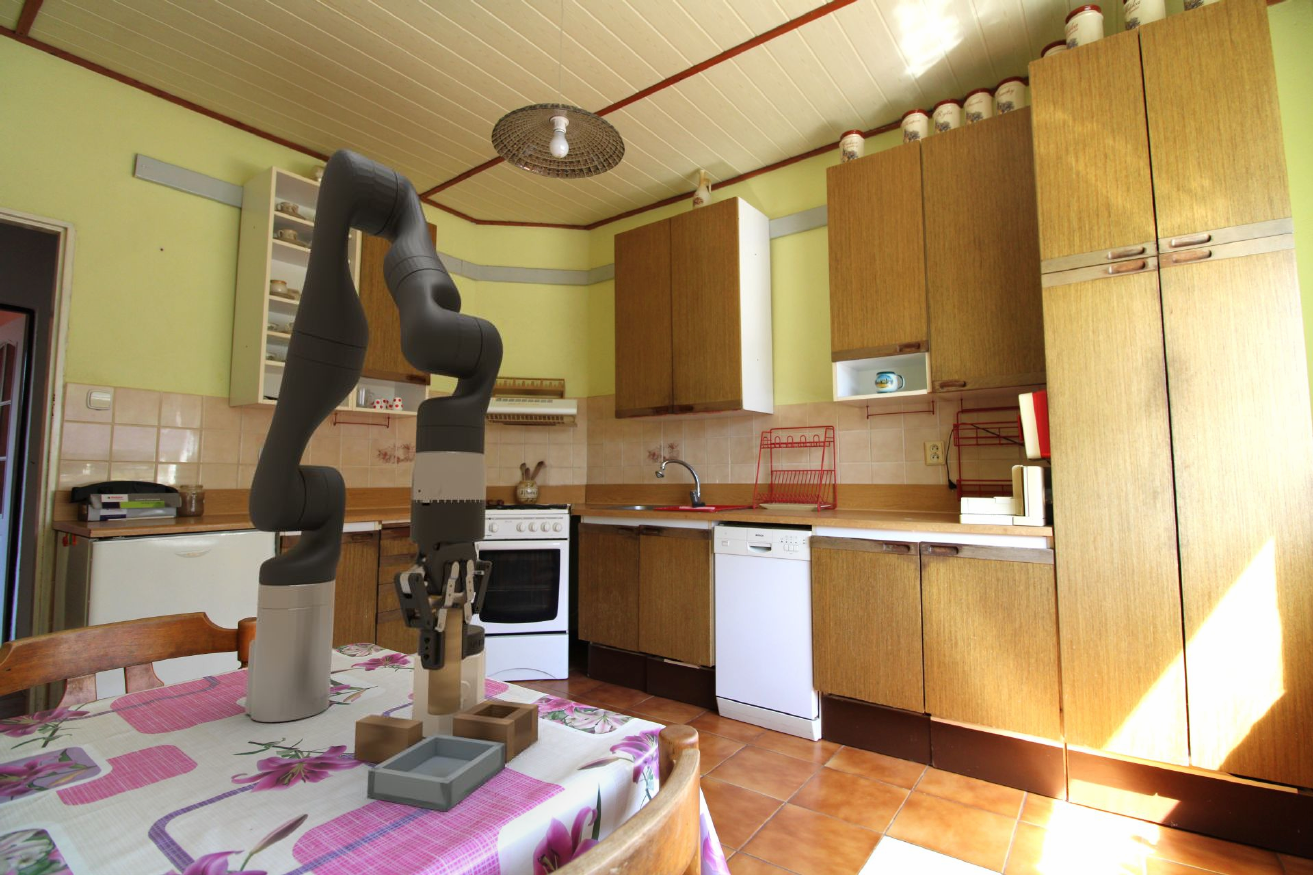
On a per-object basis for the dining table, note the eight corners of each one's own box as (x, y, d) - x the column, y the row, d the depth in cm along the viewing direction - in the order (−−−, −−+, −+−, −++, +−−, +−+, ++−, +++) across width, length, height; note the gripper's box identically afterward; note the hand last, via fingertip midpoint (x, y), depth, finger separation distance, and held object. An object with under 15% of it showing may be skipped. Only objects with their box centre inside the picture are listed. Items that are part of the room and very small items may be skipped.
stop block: (354, 758, 70) (355, 721, 70) (370, 750, 72) (371, 714, 72) (406, 767, 68) (408, 728, 68) (421, 758, 70) (422, 721, 70)
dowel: (420, 713, 64) (423, 612, 65) (440, 703, 67) (443, 607, 68) (447, 716, 63) (450, 613, 64) (466, 706, 66) (468, 608, 67)
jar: (419, 746, 73) (423, 640, 74) (404, 725, 80) (408, 628, 81) (494, 730, 78) (497, 631, 79) (474, 712, 85) (476, 621, 86)
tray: (367, 797, 61) (368, 770, 61) (433, 756, 70) (434, 733, 70) (446, 811, 58) (447, 783, 58) (504, 767, 67) (505, 743, 68)
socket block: (451, 754, 71) (453, 717, 71) (486, 732, 78) (487, 699, 78) (506, 762, 69) (507, 724, 69) (537, 739, 75) (538, 704, 76)
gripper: (458, 497, 75) (454, 647, 73) (371, 496, 61) (364, 679, 60) (514, 496, 72) (512, 651, 71) (436, 496, 59) (430, 686, 57)
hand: (444, 663), depth 65 cm, fingers closed on dowel, 3 cm apart
